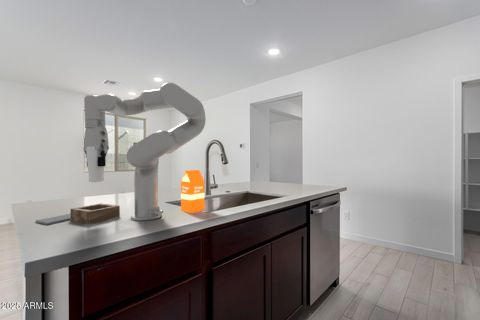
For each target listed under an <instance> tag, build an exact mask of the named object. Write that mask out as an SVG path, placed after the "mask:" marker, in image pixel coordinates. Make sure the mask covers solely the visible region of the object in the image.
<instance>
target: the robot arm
mask: <svg viewBox="0 0 480 320" xmlns="http://www.w3.org/2000/svg"><path fill="white" fill-rule="evenodd" d="M83 99H84V100H83V103H84V106H83V107H84V128H85V130H84V141H83V144H84V146H83V147H84V148H83V152H84V154H85V158H87V155H86V149H87V147H90V146H94V147H95V150H97V153H98V156H99V157H97V163H98V167H101V166H104V167H106V165H107V164H106V162H107V161H106V160H107V159H106V158H107V155H108V151H109V150H110V147H109V145H110V143H109V136H108V130H107V127H106V112H108V113H110V114H113V115H115V116H118V117H125V116H135V115H139V114H142V113H146V112H149V111H155V110H164V109H173V108H174V109H175V110H177V111H178V112H179V113H180V114H183V115H184V116H185V117H186V120H185V121H184V122H181V123H180V124H179V125H176V126H175V127H173V128H171V129H169V130H164V129H163V130H158V131H157V130H156V131H154V132H153V133H151V134H150V135H148V136H146V137H144V138H142V139H141V140H139V141H138V142H136V143H134V144H133V145H132V146H130V147H129V148H128V150H127V152H126V161H127V163H129V165H131V166H132V167H134V168H135V169H134V178H133V179H134V181H133V182H134V184H133V185H134V186H133V187H134V191H133V192H134V196H133V197H134V213H133V214H131V215H130V219H131V220H133V221H138V222H139V221H149V220H151V221H152V220H155V219H159V218H160V217H162V214H163V213H164V210H162V209H160V206H159V205H158V204H159V199H158V197H159V196H158V195H159V193H158V192H159V191H158V188H159V186H158V184H159V183H158V181H159V180H158V179H159V178H158V177H159V175H158V173H159V160H160V158H161V157H163V156H165V155H166V154H167V155H169V154H172V153H174V152H175V151H177V150H178V149H179V148H181V147H182V146H184V145H187V143H189V142H190V141H192V140H193V139H195V138H197V137H198V136H199V135H200V134H201V133H202V132H203V130H204V128H205V126H206V112H205V111H206V110H205V108H204V105H203V103H202V102H201V101H200V100H199V99H198V98H197V97H195V96H193V95H192V94H191V93H190V92H188V91H187V90H185V89H183V88H182V87H181V86H179V85H178V84H176V83H174V82H166V83H163V84H162V85H161V86H160V88H158V89H157V88H156V89H151V90H150V89H148V90H143V91H142V92H141V94H140V95H139V96H138V97H135V98H134V97H133V98H126V99H122V98H120V97H119V96H116V95H115V94H113V93H106V94H99V95H95V94H89V95H85V96H84V98H83ZM100 148H103V150H100ZM100 151H101V153H100ZM86 167H87V168H88V164H87V163H86Z"/></svg>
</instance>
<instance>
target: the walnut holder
mask: <svg viewBox="0 0 480 320" xmlns="http://www.w3.org/2000/svg"><path fill="white" fill-rule="evenodd" d="M120 210H121V209H120V205H117V204H109V203H96V204H91V205H90V204H89V205H85V206H80V207H74V208H70V214H71V220H70V222H75V223H79V224H85V225H93V224H97V223H100V222H104V221H108V220H113V219H117V218H120V216H121V215H120V214H121V213H120Z"/></svg>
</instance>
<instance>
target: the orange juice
mask: <svg viewBox="0 0 480 320" xmlns="http://www.w3.org/2000/svg"><path fill="white" fill-rule="evenodd" d="M204 210H205V179H204V178H203V175H202V173H201V170H200V169H193V170H189V169H188V170H185V171H184V174H183V175H182V179H181V181H180V211H181V212H186V213H190V214H192V213H196V212H201V211H204Z"/></svg>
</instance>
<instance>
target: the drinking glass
mask: <svg viewBox="0 0 480 320" xmlns="http://www.w3.org/2000/svg"><path fill="white" fill-rule="evenodd" d="M100 150H103V148H100ZM100 153H101V151H100ZM86 155H87V157H86V165H87V164H88V167H87V169H88V171H87V173H88V181H89V182H90V183H101V182H104V180H105V178H104V177H105V166H101V167H98V163H97V157H99V156H98V153H97V150H95V147H94V146H90V147H87V149H86V154H85V156H86Z"/></svg>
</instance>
